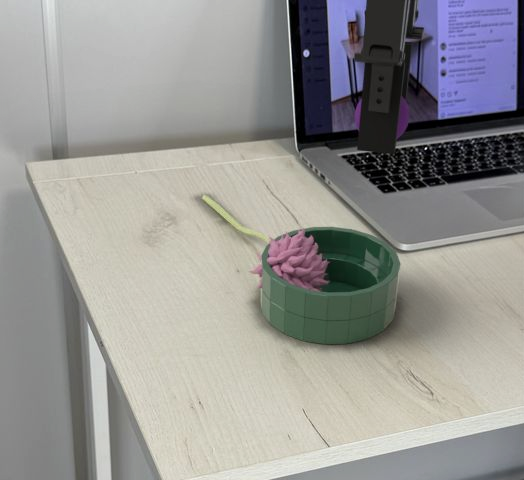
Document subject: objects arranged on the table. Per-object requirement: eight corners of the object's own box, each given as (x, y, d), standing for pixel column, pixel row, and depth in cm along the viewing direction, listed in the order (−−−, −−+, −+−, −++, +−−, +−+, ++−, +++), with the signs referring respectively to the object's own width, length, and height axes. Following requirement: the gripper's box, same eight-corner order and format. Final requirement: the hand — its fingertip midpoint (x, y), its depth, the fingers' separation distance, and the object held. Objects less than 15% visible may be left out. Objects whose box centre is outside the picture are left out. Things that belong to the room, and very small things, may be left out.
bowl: (401, 286, 78) (407, 235, 75) (384, 358, 69) (390, 305, 66) (278, 269, 80) (279, 219, 77) (246, 337, 71) (246, 284, 68)
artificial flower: (166, 235, 90) (272, 329, 70) (170, 167, 87) (282, 245, 67) (226, 233, 93) (344, 323, 73) (232, 167, 90) (357, 242, 70)
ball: (408, 135, 68) (415, 83, 65) (402, 155, 64) (409, 102, 62) (357, 129, 68) (362, 78, 66) (348, 148, 65) (353, 95, 63)
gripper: (377, -243, 60) (350, 95, 74) (330, -232, 46) (308, 178, 60) (489, -239, 58) (440, 105, 72) (475, -227, 45) (418, 192, 59)
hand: (380, 137), depth 66 cm, fingers closed on ball, 4 cm apart
